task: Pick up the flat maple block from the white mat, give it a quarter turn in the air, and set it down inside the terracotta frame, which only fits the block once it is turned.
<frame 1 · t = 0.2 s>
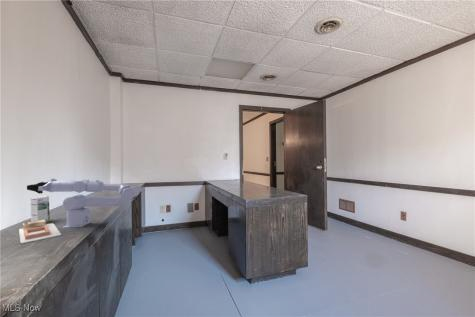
hand: (33, 186, 109), 21 cm above the worktop, tool horizontal, fingers open, 7 cm apart
syrup box: (40, 223, 117), on the worktop
maple block: (34, 228, 106), resting on white mat
terracotta frame: (36, 234, 98), resting on white mat
white mat: (39, 232, 101), on the worktop
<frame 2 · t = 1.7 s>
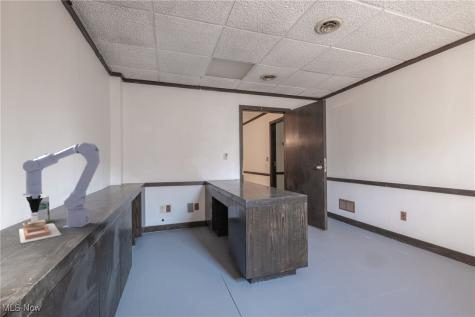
hand: (34, 211, 106), 9 cm above the worktop, tool pointing down, fingers open, 7 cm apart
nothing on the worktop moved.
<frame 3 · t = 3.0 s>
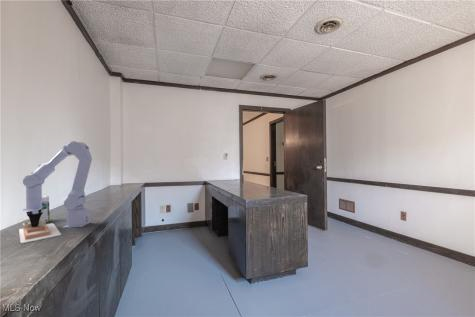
hand: (34, 225, 106), 2 cm above the worktop, tool pointing down, fingers closed on maple block, 4 cm apart
maple block: (34, 228, 106), resting on white mat, touching gripper
everything else where it was.
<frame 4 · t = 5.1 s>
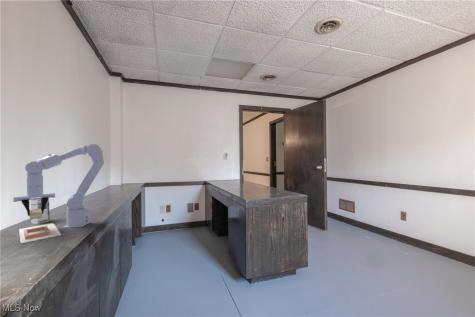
hand: (35, 214, 102), 8 cm above the worktop, tool pointing down, fingers closed on maple block, 4 cm apart
maple block: (35, 216, 102), point 7 cm above the worktop, touching gripper
everything else where it was.
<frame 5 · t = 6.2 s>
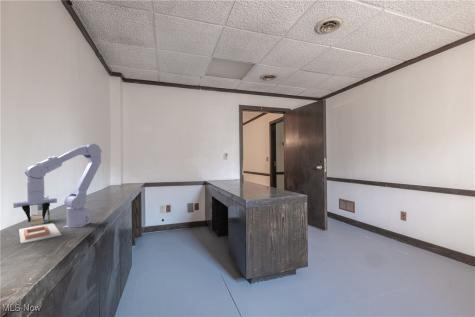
hand: (36, 220, 98), 7 cm above the worktop, tool pointing down, fingers closed on maple block, 4 cm apart
maple block: (36, 223, 98), point 5 cm above the worktop, touching gripper
everything else where it was.
when the fingers open (3 cm above the worktop, at t = 7.2 s): maple block drops 1 cm, resting on white mat.
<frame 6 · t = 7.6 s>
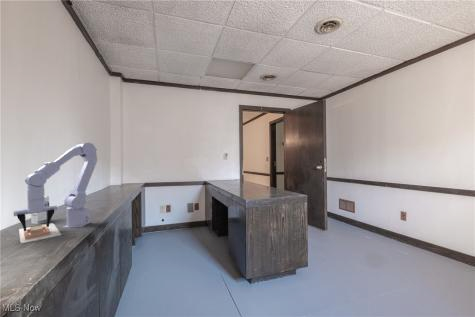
hand: (36, 228, 98), 3 cm above the worktop, tool pointing down, fingers open, 7 cm apart
maple block: (36, 233, 98), resting on white mat
everything else where it was.
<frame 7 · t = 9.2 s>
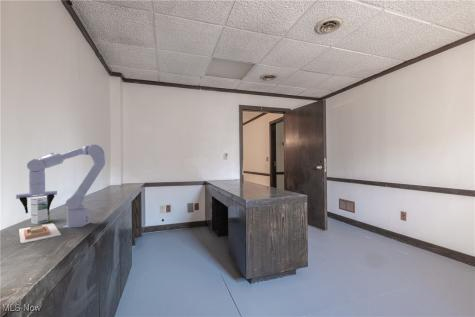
hand: (37, 211, 104), 9 cm above the worktop, tool pointing down, fingers open, 7 cm apart
nothing on the worktop moved.
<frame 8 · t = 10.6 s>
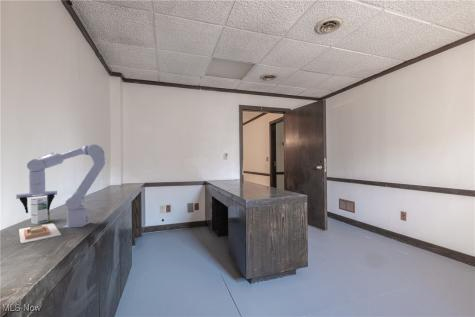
hand: (37, 211, 104), 9 cm above the worktop, tool pointing down, fingers open, 7 cm apart
nothing on the worktop moved.
at the end: maple block 0.1 cm off-centre on the terracotta frame, point 0.4 cm above the terracotta frame's base; maple block tilted 0°; the gripper is holding nothing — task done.
